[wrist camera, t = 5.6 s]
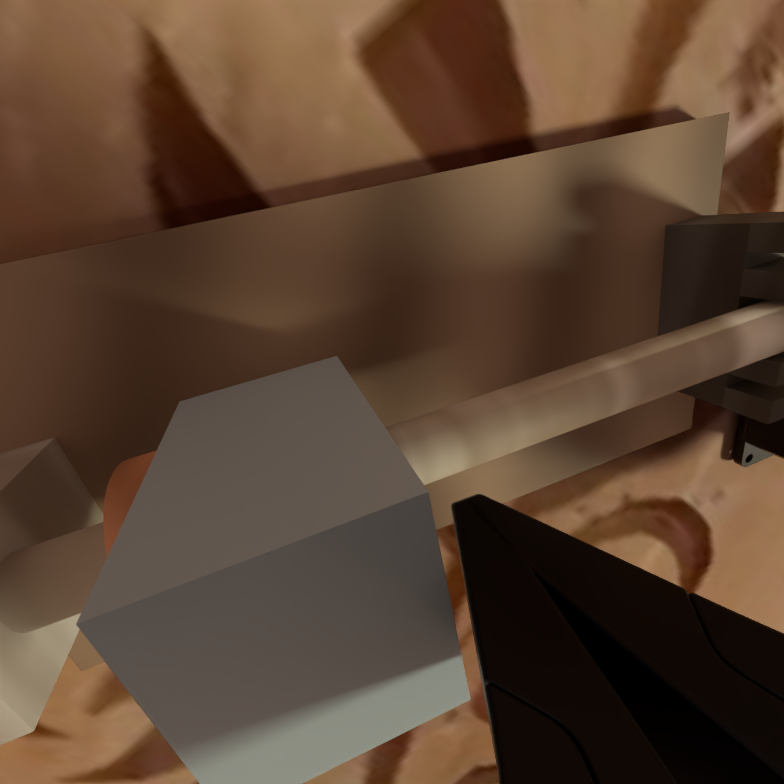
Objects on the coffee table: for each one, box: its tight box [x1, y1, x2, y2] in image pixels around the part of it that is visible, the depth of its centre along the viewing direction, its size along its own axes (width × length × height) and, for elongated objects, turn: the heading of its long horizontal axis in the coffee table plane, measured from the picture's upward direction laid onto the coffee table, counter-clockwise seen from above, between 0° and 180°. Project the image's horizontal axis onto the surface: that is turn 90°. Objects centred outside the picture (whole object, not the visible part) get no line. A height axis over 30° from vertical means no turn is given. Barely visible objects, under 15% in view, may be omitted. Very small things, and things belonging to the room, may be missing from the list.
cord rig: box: [0, 112, 784, 745], centre depth 11 cm, size 25×12×6 cm, turn 102°
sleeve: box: [76, 356, 470, 784], centre depth 8 cm, size 4×4×6 cm
